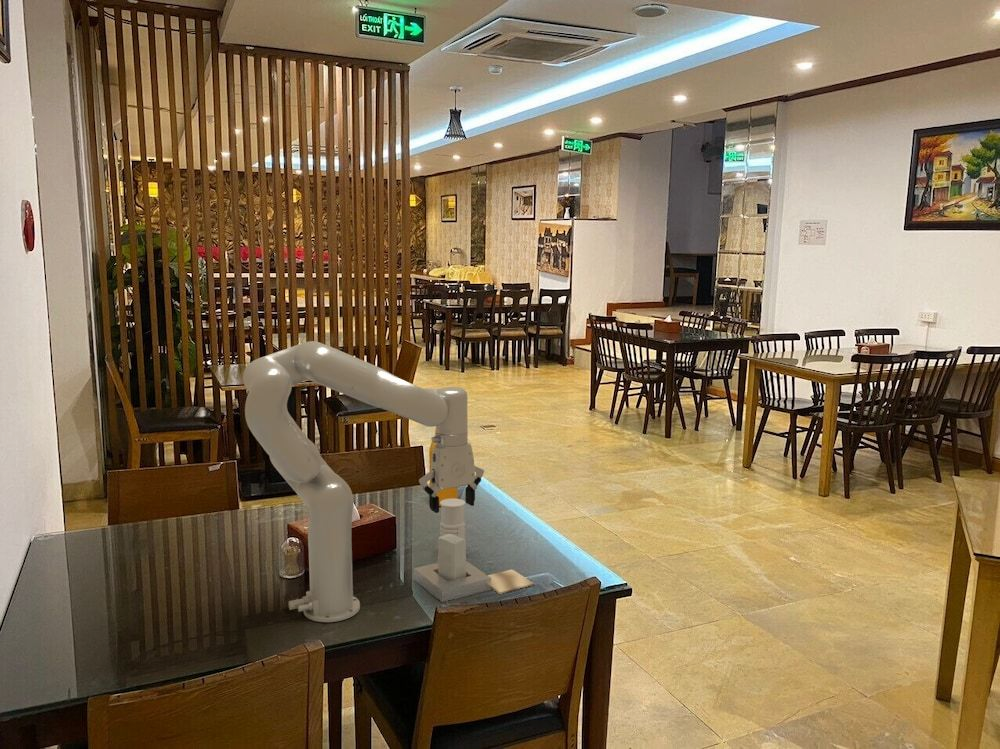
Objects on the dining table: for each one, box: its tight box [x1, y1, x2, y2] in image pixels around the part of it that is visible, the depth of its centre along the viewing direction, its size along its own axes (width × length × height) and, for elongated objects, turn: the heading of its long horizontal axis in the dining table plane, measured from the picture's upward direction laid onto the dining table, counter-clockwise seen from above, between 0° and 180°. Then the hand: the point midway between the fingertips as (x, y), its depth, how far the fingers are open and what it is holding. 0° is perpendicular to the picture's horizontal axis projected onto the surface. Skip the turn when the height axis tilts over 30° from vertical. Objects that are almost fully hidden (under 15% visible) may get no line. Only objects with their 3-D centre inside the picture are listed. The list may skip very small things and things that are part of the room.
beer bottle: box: [428, 429, 459, 506], centre depth 248 cm, size 9×9×29 cm
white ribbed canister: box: [439, 498, 466, 539], centre depth 205 cm, size 7×7×15 cm
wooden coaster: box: [488, 569, 535, 595], centre depth 189 cm, size 10×10×1 cm
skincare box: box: [437, 534, 467, 582], centre depth 187 cm, size 6×4×12 cm
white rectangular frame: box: [413, 560, 492, 603], centre depth 188 cm, size 14×15×3 cm
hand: (452, 507), depth 185 cm, fingers open, 9 cm apart
